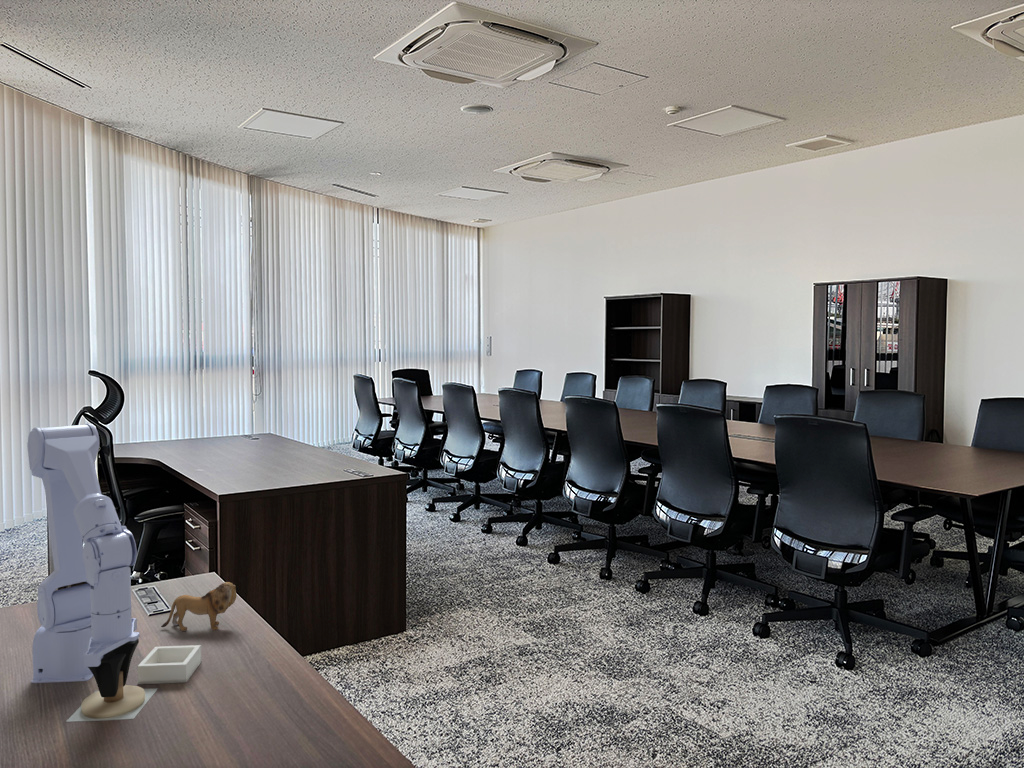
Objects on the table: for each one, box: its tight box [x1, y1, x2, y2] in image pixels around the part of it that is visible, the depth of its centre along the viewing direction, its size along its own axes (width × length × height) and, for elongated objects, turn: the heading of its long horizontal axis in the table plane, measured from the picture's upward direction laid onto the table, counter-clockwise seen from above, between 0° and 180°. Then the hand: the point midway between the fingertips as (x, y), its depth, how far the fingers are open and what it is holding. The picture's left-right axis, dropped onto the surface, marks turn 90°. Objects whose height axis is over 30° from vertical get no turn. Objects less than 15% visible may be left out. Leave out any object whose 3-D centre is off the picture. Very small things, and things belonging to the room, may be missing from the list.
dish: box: [137, 644, 202, 685], centre depth 130 cm, size 8×8×4 cm
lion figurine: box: [161, 581, 237, 632], centre depth 151 cm, size 15×5×9 cm, turn 103°
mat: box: [65, 688, 159, 723], centre depth 119 cm, size 10×10×1 cm
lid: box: [81, 671, 145, 719], centre depth 119 cm, size 9×9×5 cm
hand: (113, 691), depth 119 cm, fingers closed on lid, 3 cm apart
